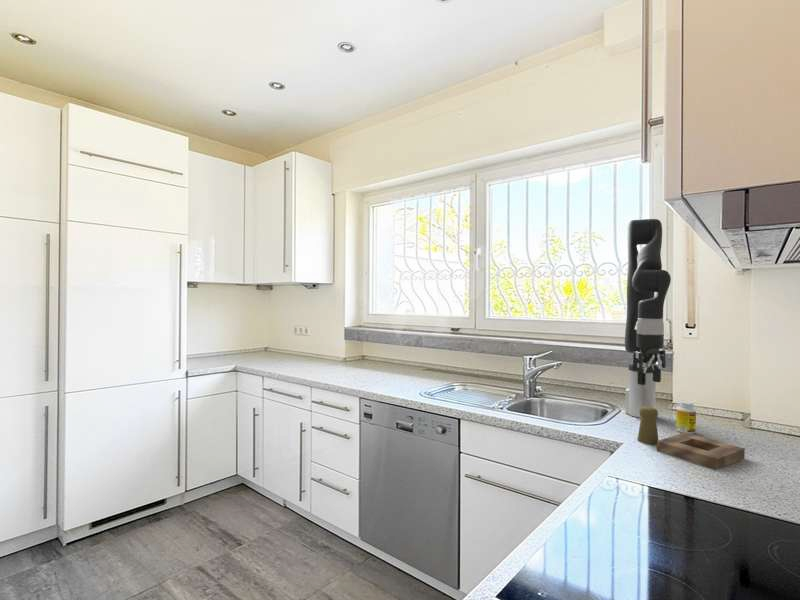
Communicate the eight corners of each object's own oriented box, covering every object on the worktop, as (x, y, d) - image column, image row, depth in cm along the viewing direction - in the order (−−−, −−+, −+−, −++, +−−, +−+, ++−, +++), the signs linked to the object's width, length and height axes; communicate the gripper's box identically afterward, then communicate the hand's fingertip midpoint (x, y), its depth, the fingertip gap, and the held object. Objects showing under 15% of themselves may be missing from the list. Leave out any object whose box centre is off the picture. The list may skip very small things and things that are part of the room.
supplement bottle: (690, 435, 144) (691, 405, 143) (672, 430, 148) (673, 401, 148) (698, 432, 146) (699, 402, 146) (681, 428, 151) (681, 399, 151)
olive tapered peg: (639, 436, 142) (639, 403, 142) (660, 441, 138) (661, 407, 138) (635, 441, 137) (636, 407, 137) (657, 446, 133) (657, 411, 133)
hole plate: (656, 450, 129) (656, 440, 129) (684, 441, 138) (684, 432, 138) (717, 470, 116) (717, 459, 116) (744, 458, 124) (744, 448, 124)
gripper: (650, 330, 144) (649, 379, 144) (625, 332, 137) (624, 383, 137) (674, 332, 137) (673, 383, 138) (649, 334, 130) (648, 387, 130)
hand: (649, 383), depth 137 cm, fingers open, 8 cm apart
